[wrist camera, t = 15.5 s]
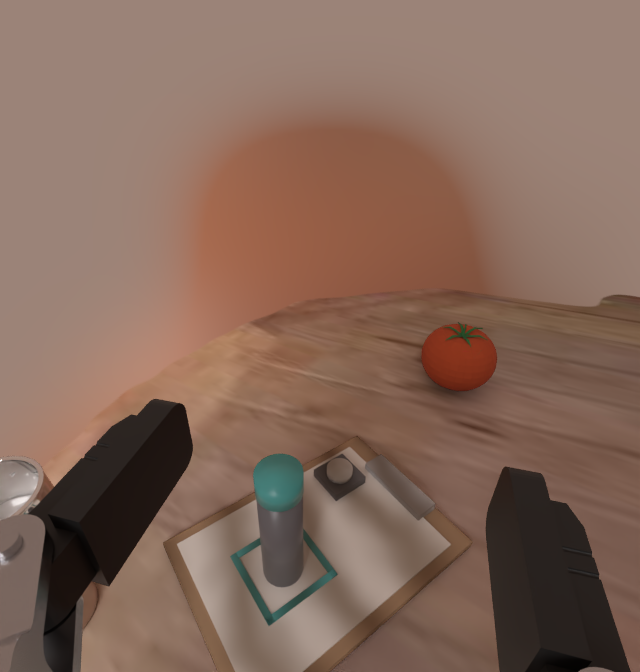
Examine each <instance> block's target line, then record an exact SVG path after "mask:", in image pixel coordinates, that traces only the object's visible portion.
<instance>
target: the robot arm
mask: <svg viewBox="0 0 640 672" xmlns="http://www.w3.org/2000/svg"><path fill="white" fill-rule="evenodd" d="M192 451H193V444H192V439H191V434H190V429H189V424H188V419H187V414H186V409H185V407H184V405H183V404H180V403H175V402H170V401H164V400H159V399H153V400H151V401H150V402H149V403H148V404H147V405H146V406H145V407H144V408H143V409H142V411H141V412H140V413H139V414H138V415H137V416H136V415H130V416H128V417H127V418H125V419H123V420H122V421H120V422H118V423H117V424H115V425H113V426H112V427H111V428H110V429H109V430H108V431H107V432H106V433H105V434H104V435H103V436H102V437H101V438H100V439H99V440H98V441H97V444H96V446H95V445H94V446H93V447H92V448H91V449H90V450H89V451H88V452H87V453H86V454H85V457H84V458H83V459H82V458H81V459H80V460H79V461H78V463H77V464H76V465H75V466H74V467H73V468H72V469H71V470H70V471H69V472H68V473H67V474H66V475H65V476H64V477H63V478H62V479H61V480H60V481H59V482H58V484H57V485H56V486H55V487H54V488H53V489H52V490H51V491H50V492H49V493H48V494H47V495H46V496H45V497H44V498H43V499H42V500H41V501H40V502H39V504H38V505H37V506H36V507H35V508H34V509H33V510H31V511H30V512H29V513H28V514H22V515H15V516H11V517H8V518H5V519H3V520H1V521H0V672H80V670H81V648H82V626H83V604H84V602H83V595H82V594H83V593H84V591H85V590H86V588H87V587H88V586H89V584H90V583H91V581H92V582H96V583H99V584H102V585H106V586H110V584H111V583H112V581H113V580H114V578H115V577H116V575H117V574H118V572H119V571H120V569H121V568H122V566H123V564H124V563H125V561H126V560H127V558H128V557H129V555H130V554H131V552H132V551H133V549H134V548H135V546H136V545H137V543H138V542H139V540H140V539H141V537H142V535H143V534H144V532H145V531H146V529H147V528H148V526H149V525H150V523H151V522H152V520H153V519H154V517H155V516H156V514H157V513H158V511H159V510H160V508H161V506H162V505H163V503H164V502H165V500H166V499H167V497H168V496H169V494H170V493H171V491H172V490H173V488H174V487H175V485H176V484H177V482H178V481H179V479H180V477H181V476H182V474H183V473H184V471H185V470H186V468H187V467H188V465H189V462H190V460H191V456H192ZM486 541H487V551H488V561H489V570H490V580H491V590H492V600H493V610H494V620H495V630H496V640H497V650H498V660H499V670H500V672H631V671H630V668H629V665H628V662H627V659H626V656H625V653H624V650H623V647H622V644H621V641H620V638H619V634H618V631H617V628H616V625H615V622H614V619H613V616H612V613H611V610H610V607H609V603H608V600H607V597H606V594H605V591H604V588H603V585H602V582H601V580H599V572H598V569H597V566H596V563H595V560H594V558H592V551H591V548H590V544H589V541H588V538H587V535H586V532H585V529H584V527H583V525H582V524H581V523H580V521H579V520H578V518H577V517H576V516H575V514H574V513H573V512H572V510H571V509H570V508H569V506H568V505H567V504H566V503H562V502H557V501H552V500H550V498H549V494H548V490H547V487H546V483H545V479H544V477H543V475H542V474H541V473H536V472H531V471H526V470H521V469H515V468H510V467H504V468H503V470H502V472H501V475H500V478H499V480H498V483H497V486H496V488H495V491H494V494H493V497H492V499H491V502H490V505H489V508H488V512H487V518H486Z"/></svg>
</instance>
